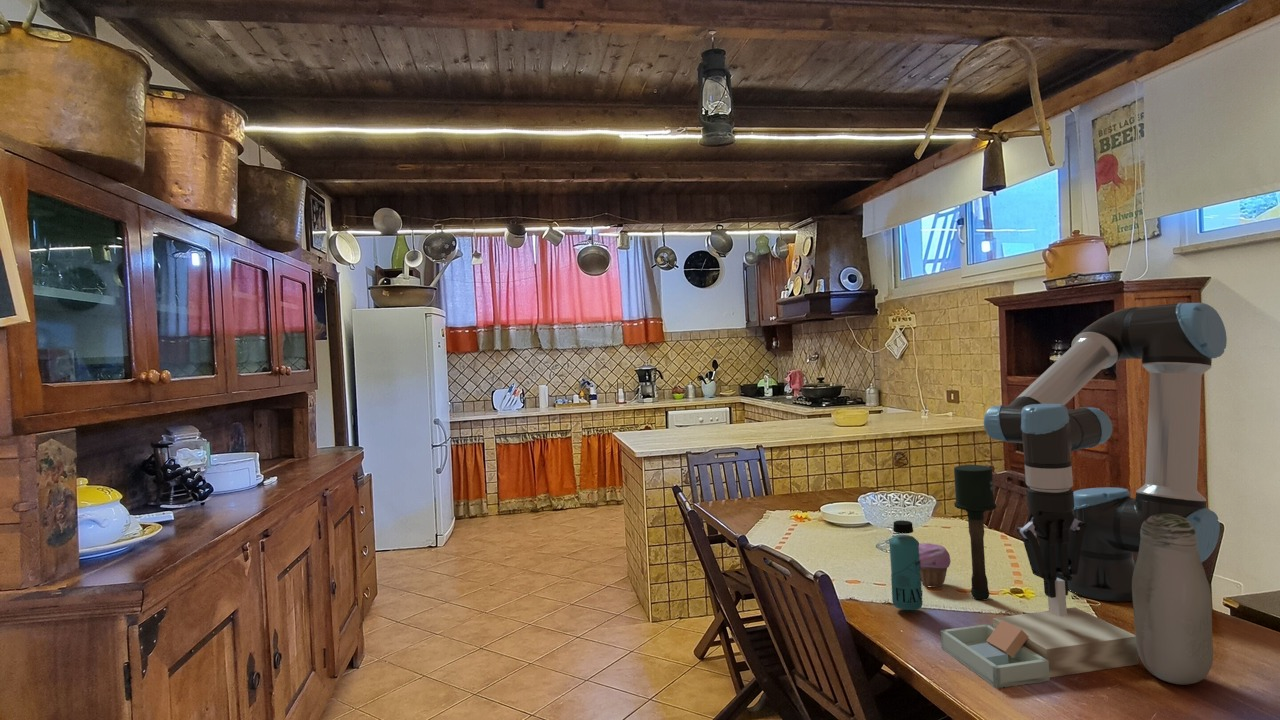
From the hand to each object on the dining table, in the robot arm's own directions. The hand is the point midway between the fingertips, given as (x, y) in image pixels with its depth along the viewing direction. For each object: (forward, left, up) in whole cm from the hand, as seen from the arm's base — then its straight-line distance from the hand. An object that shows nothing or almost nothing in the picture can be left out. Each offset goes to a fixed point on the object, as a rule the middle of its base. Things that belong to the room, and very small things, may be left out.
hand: (1057, 613), depth 124 cm
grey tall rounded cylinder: (-11, +13, -8) cm, 19 cm away
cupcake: (+1, -39, -8) cm, 40 cm away
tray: (+14, 0, -8) cm, 16 cm away
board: (-1, 0, -8) cm, 8 cm away
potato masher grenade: (-4, -28, -8) cm, 29 cm away
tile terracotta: (+10, 0, -4) cm, 11 cm away
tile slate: (+15, 0, -5) cm, 16 cm away
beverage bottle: (+15, -26, -8) cm, 31 cm away
